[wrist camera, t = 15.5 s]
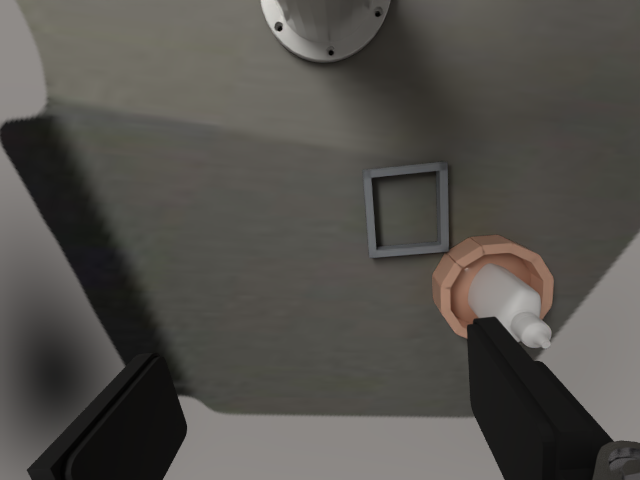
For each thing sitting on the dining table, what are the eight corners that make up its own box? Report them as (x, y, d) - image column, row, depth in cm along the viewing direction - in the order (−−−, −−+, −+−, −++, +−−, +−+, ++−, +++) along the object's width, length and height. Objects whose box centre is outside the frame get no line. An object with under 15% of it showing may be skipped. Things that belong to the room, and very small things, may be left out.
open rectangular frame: (362, 169, 37) (363, 170, 36) (443, 161, 36) (447, 161, 35) (368, 254, 39) (369, 257, 38) (445, 247, 39) (448, 251, 37)
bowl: (431, 240, 38) (439, 249, 35) (537, 231, 37) (556, 239, 34) (433, 330, 41) (441, 346, 38) (532, 324, 40) (549, 340, 37)
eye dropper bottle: (518, 283, 38) (594, 342, 26) (476, 314, 39) (532, 383, 28) (494, 256, 37) (561, 303, 26) (452, 288, 39) (499, 347, 27)
